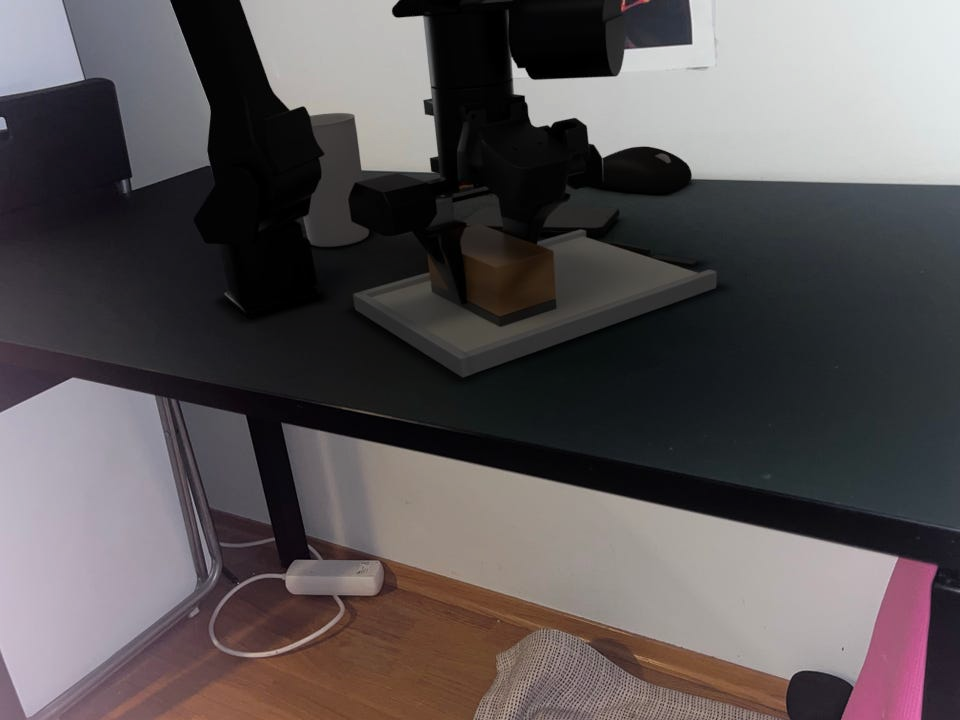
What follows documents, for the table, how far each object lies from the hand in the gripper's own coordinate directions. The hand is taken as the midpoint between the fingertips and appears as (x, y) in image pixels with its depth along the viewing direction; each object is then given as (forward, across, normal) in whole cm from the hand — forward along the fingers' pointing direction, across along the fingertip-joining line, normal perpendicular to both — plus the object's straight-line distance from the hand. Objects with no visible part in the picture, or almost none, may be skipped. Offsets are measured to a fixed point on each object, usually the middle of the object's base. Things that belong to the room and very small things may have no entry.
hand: (490, 294), depth 67 cm
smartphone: (+2, +16, +16) cm, 23 cm away
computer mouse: (+2, +33, +21) cm, 39 cm away
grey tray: (+2, +4, 0) cm, 4 cm away
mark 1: (+1, +16, +2) cm, 16 cm away
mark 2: (+1, +18, -2) cm, 18 cm away
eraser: (0, 0, 0) cm, 1 cm away
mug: (+2, -1, +30) cm, 30 cm away
